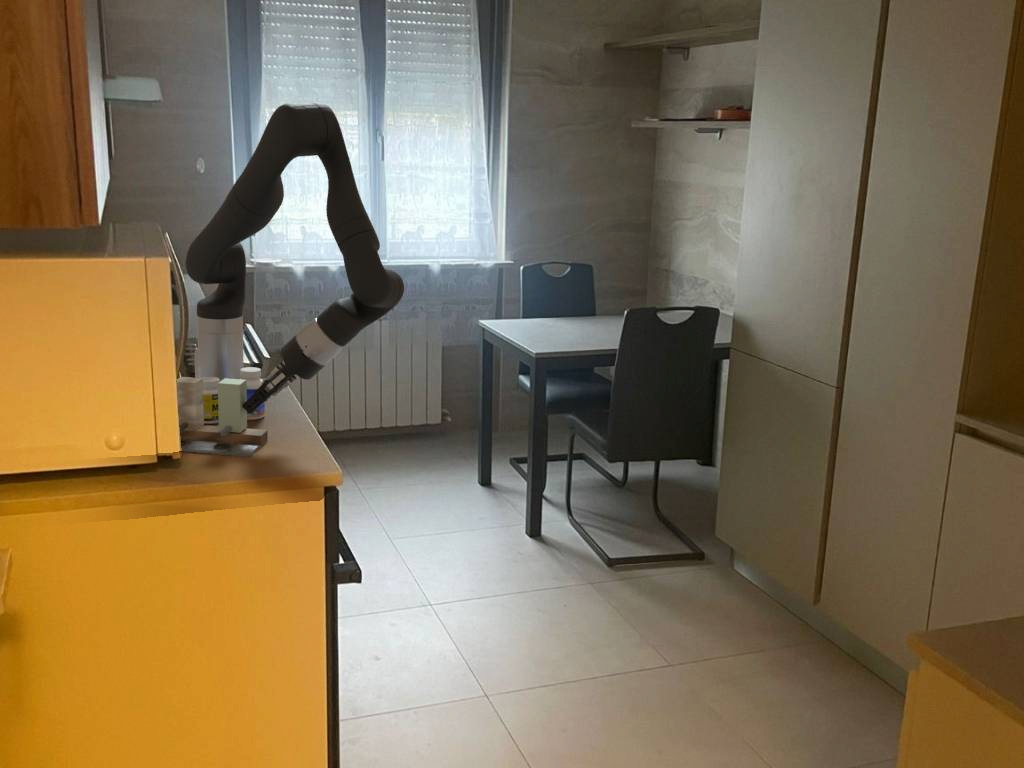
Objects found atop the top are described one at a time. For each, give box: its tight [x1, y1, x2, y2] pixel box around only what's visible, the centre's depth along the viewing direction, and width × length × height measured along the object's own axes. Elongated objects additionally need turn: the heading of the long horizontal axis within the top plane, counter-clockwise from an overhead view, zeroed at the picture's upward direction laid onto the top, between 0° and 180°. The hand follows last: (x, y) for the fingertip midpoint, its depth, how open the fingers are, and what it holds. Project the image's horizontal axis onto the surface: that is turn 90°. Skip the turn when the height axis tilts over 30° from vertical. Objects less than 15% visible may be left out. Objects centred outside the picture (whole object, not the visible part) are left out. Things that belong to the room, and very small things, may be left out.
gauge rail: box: [176, 376, 268, 447], centre depth 174 cm, size 16×7×11 cm, turn 86°
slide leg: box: [218, 378, 248, 436], centre depth 173 cm, size 4×7×9 cm, turn 176°
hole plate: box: [181, 439, 261, 458], centre depth 171 cm, size 16×5×1 cm, turn 86°
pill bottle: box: [240, 366, 266, 421], centre depth 191 cm, size 5×5×10 cm
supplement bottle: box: [203, 377, 220, 425], centre depth 187 cm, size 5×5×8 cm
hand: (246, 409), depth 175 cm, fingers closed
